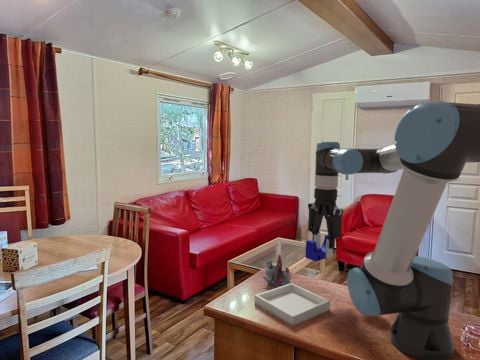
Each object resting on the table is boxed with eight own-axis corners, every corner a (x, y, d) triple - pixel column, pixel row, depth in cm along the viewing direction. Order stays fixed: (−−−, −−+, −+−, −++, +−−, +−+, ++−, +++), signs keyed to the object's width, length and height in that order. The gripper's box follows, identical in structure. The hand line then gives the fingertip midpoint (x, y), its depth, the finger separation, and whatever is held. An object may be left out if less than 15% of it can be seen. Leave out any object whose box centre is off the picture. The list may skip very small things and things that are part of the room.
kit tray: (329, 309, 113) (330, 300, 112) (292, 326, 102) (292, 316, 102) (291, 290, 126) (291, 282, 126) (254, 303, 116) (254, 295, 115)
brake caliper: (294, 284, 126) (274, 256, 127) (269, 299, 129) (250, 271, 130) (298, 273, 136) (280, 247, 137) (275, 286, 140) (258, 261, 141)
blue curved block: (316, 261, 115) (317, 243, 114) (305, 257, 119) (306, 240, 118) (337, 254, 123) (338, 237, 122) (326, 250, 126) (327, 234, 126)
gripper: (355, 190, 113) (351, 260, 116) (313, 183, 128) (310, 246, 130) (340, 192, 109) (336, 264, 112) (298, 185, 123) (296, 249, 126)
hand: (322, 254), depth 121 cm, fingers closed on blue curved block, 5 cm apart
